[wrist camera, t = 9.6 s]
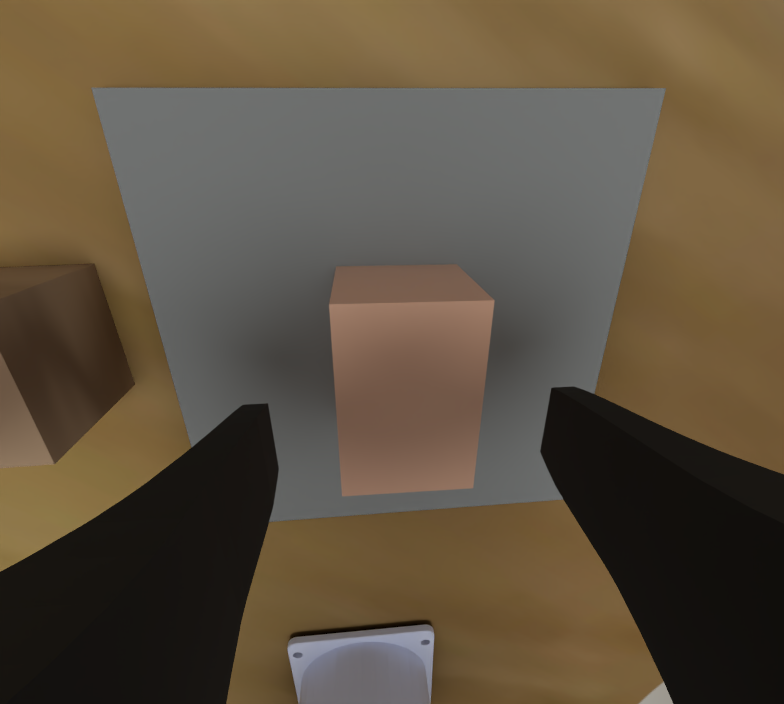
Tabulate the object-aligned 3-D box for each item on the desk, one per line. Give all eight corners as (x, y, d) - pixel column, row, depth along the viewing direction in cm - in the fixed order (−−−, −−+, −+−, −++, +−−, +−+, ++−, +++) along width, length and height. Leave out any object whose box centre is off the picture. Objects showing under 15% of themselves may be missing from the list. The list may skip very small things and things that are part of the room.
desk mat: (563, 489, 19) (569, 498, 18) (217, 514, 18) (213, 526, 17) (651, 92, 12) (665, 88, 12) (104, 91, 11) (91, 87, 10)
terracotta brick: (446, 415, 16) (473, 488, 12) (344, 419, 16) (341, 496, 12) (456, 264, 13) (494, 300, 10) (336, 266, 13) (328, 304, 9)
